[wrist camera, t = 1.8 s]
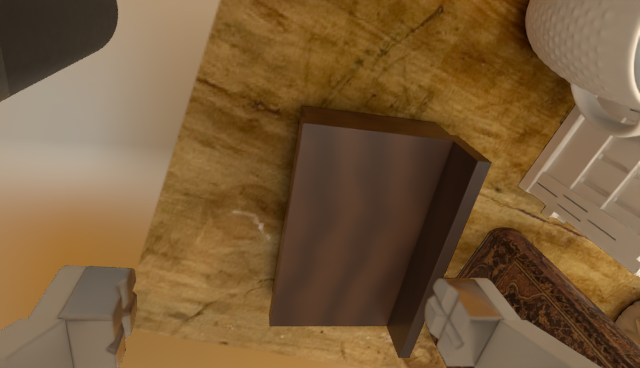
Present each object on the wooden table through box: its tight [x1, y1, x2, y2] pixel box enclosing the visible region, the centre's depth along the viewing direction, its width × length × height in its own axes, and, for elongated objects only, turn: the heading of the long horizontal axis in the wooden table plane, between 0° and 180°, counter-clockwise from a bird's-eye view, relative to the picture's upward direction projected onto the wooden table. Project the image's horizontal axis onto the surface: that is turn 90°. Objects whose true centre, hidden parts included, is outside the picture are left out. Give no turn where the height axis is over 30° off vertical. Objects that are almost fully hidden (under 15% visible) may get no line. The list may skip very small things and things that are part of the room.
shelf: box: [269, 106, 491, 358], centre depth 36 cm, size 14×22×9 cm, turn 170°
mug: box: [525, 0, 640, 137], centre depth 29 cm, size 15×11×13 cm
